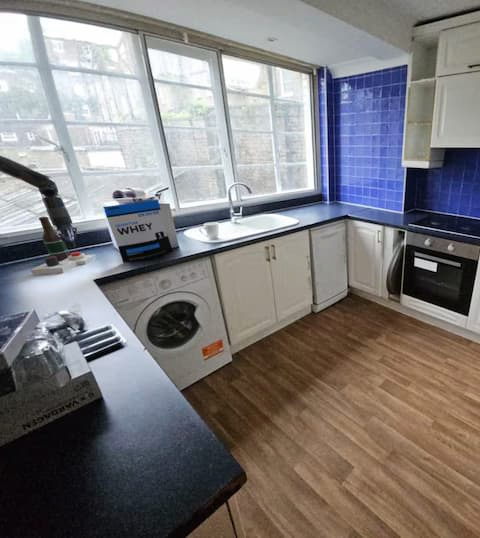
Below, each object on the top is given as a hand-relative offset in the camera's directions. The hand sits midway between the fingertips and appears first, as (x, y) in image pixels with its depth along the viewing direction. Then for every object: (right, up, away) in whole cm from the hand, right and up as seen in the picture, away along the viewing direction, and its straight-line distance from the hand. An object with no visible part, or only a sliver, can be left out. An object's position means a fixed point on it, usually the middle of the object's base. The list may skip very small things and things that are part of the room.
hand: (73, 247), depth 157 cm
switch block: (0, -8, +3) cm, 8 cm away
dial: (-1, -9, -9) cm, 13 cm away
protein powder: (+35, -5, +9) cm, 36 cm away
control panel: (-1, -12, -7) cm, 14 cm away
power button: (0, -4, +2) cm, 5 cm away
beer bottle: (-14, -6, +8) cm, 17 cm away
